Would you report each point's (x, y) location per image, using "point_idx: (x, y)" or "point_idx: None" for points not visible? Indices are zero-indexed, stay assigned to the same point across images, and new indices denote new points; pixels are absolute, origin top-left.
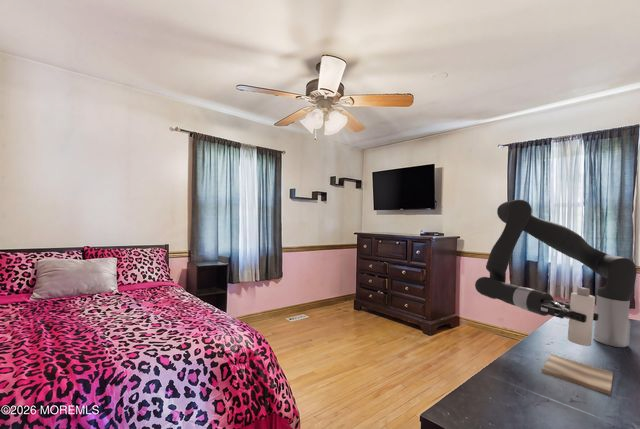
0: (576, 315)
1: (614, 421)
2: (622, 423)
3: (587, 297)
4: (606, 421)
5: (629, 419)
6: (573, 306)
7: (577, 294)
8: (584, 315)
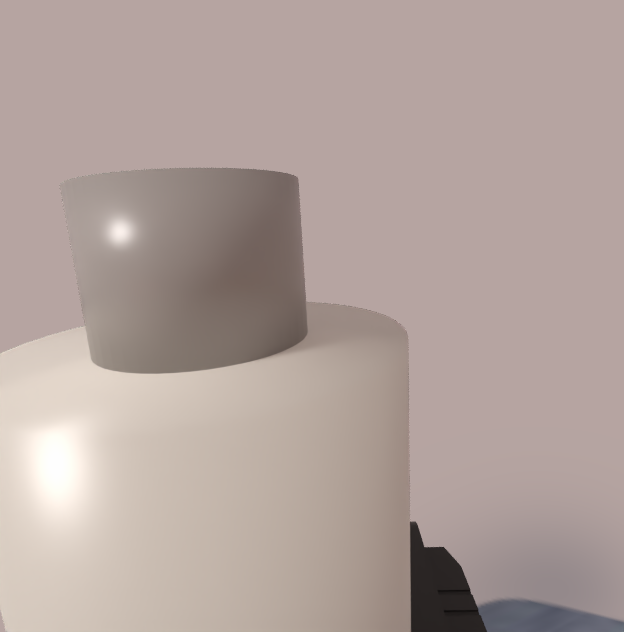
0: (473, 608)
1: (580, 619)
2: (556, 605)
3: (336, 304)
4: (619, 628)
5: (501, 609)
6: (406, 604)
7: (283, 350)
8: (415, 523)
